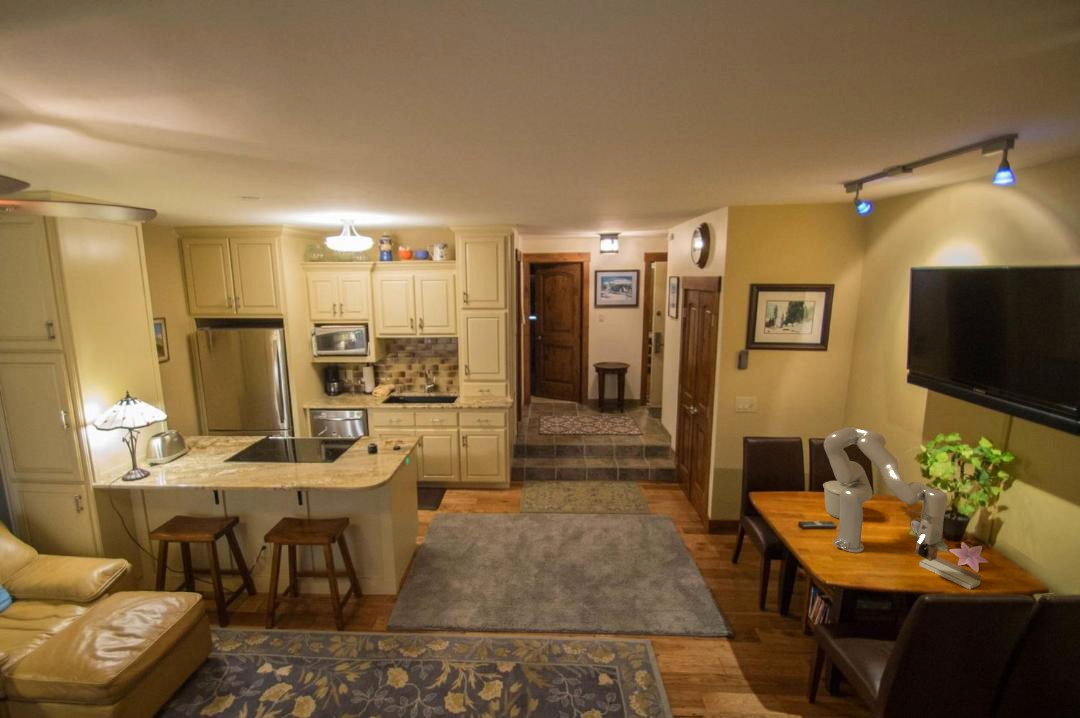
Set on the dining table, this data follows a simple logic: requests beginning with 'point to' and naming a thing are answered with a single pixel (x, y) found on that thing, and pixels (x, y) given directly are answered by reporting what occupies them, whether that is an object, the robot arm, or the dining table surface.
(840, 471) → the robot arm
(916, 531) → the tin
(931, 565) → the bar
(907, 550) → the dining table surface
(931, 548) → the crate
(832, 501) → the canister
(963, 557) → the lily
